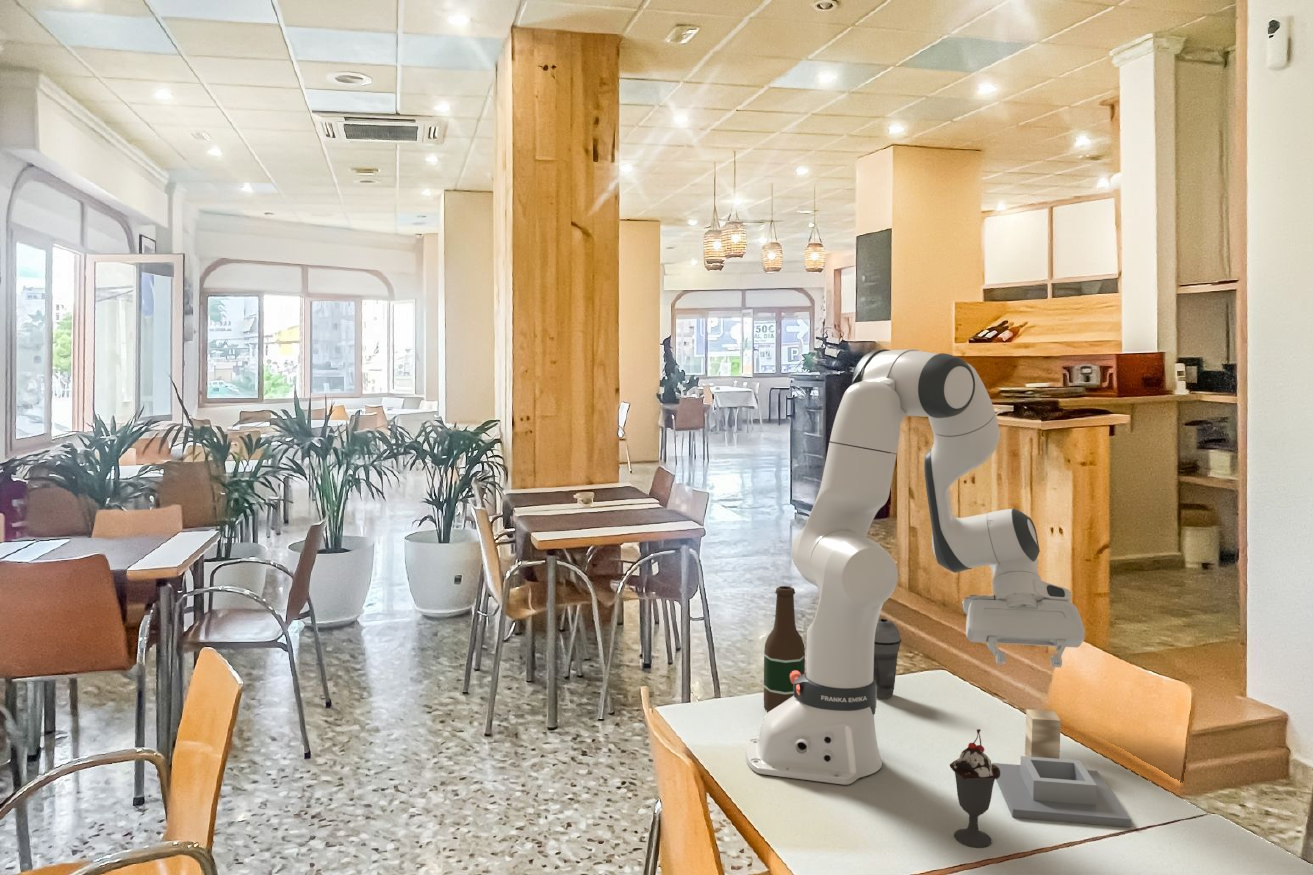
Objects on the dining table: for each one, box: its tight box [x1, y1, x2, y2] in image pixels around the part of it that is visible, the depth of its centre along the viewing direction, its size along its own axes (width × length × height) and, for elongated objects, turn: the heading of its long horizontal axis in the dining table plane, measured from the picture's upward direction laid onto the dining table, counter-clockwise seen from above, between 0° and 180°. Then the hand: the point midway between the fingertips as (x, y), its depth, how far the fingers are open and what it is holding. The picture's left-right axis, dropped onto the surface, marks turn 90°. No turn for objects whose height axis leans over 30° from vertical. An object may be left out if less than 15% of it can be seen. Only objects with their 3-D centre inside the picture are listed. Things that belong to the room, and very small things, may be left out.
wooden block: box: [1024, 708, 1062, 759], centre depth 150 cm, size 4×4×8 cm
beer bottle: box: [763, 585, 806, 713], centre depth 172 cm, size 8×8×24 cm
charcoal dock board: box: [991, 755, 1132, 828], centre depth 138 cm, size 16×16×4 cm
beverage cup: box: [873, 614, 902, 700], centre depth 181 cm, size 7×7×20 cm
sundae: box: [949, 728, 1000, 848], centre depth 125 cm, size 7×7×15 cm
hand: (1029, 664), depth 160 cm, fingers open, 8 cm apart
